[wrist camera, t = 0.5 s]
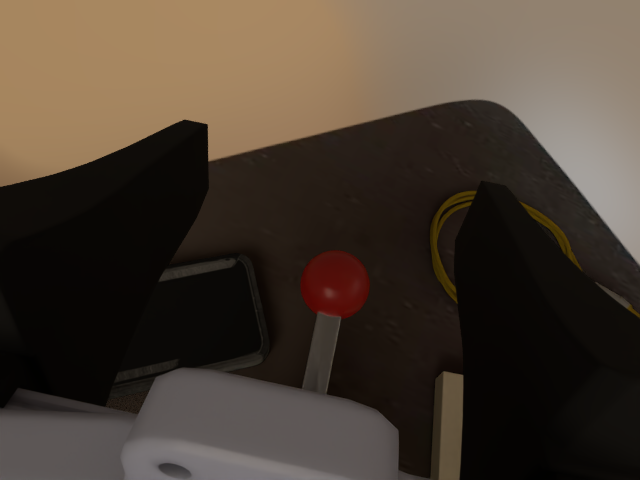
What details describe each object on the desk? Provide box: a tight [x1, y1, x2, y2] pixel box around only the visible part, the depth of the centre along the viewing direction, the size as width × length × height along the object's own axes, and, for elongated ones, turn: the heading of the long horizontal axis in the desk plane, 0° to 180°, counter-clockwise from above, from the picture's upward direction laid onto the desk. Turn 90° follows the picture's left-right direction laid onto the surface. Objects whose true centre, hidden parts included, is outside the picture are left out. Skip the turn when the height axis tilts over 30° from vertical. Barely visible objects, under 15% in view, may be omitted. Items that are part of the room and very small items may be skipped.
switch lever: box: [300, 250, 370, 394], centre depth 21 cm, size 12×3×3 cm, turn 169°
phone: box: [108, 253, 270, 399], centre depth 31 cm, size 8×1×15 cm
